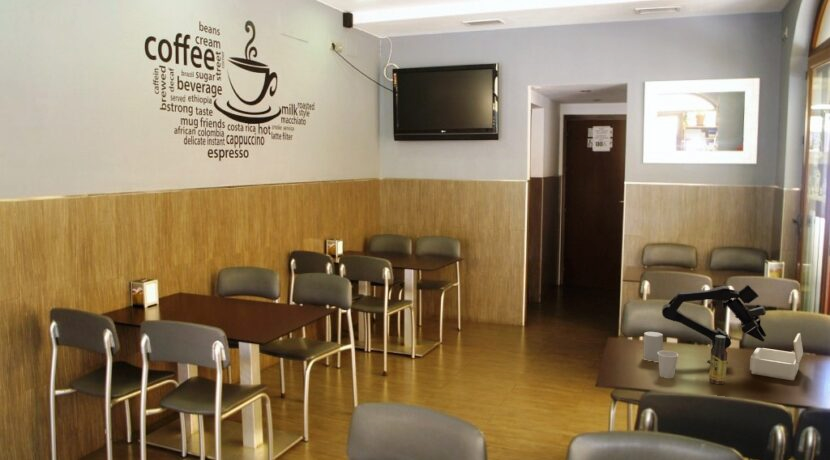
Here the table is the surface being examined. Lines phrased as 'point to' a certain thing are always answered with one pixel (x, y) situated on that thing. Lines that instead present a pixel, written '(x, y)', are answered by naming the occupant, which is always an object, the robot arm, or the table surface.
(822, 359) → the table surface
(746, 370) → the table surface
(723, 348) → the sauce bottle
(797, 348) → the carton flap
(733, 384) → the table surface
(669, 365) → the dixie cup
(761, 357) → the carton
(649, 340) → the cup
